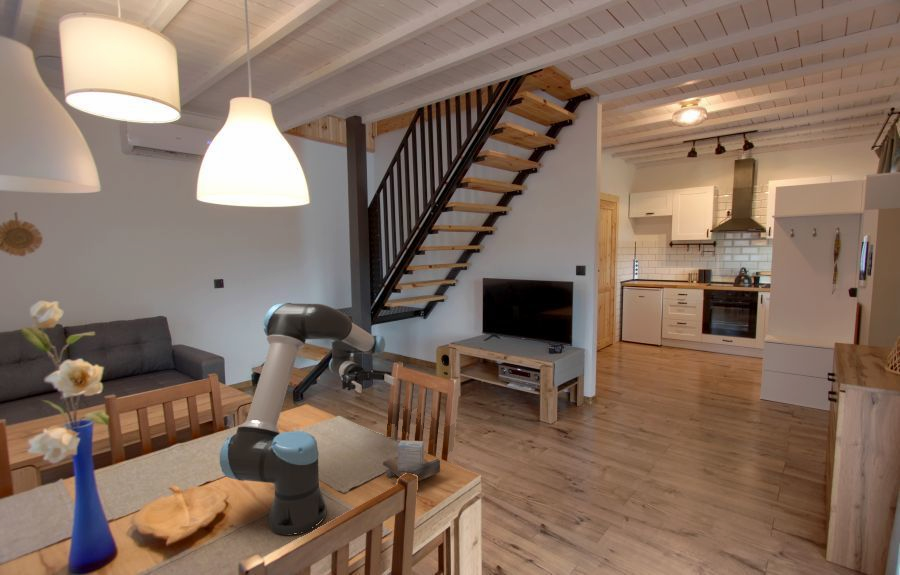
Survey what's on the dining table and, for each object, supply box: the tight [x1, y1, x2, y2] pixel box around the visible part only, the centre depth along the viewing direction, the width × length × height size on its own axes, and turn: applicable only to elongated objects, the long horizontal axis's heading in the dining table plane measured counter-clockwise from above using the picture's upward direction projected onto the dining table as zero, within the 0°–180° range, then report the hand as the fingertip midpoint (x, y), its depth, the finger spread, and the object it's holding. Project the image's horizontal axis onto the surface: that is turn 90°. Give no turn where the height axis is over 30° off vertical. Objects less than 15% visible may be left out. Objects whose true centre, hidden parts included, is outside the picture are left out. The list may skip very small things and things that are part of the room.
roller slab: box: [382, 456, 441, 482], centre depth 141 cm, size 13×16×6 cm
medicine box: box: [397, 440, 425, 472], centre depth 138 cm, size 8×4×9 cm, turn 83°
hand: (377, 385), depth 153 cm, fingers open, 13 cm apart
